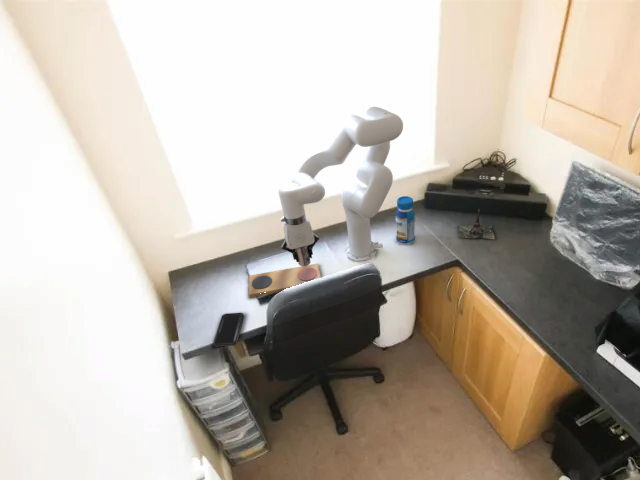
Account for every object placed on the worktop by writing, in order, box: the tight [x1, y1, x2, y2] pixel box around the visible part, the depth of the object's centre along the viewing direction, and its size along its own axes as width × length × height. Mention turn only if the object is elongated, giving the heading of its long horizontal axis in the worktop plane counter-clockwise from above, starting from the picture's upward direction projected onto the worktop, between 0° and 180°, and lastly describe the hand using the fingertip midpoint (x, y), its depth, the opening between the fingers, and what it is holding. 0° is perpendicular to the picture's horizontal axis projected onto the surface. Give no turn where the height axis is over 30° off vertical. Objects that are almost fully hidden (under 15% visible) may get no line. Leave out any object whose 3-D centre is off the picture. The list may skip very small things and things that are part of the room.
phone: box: [212, 312, 245, 348], centre depth 146 cm, size 8×1×15 cm
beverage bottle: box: [395, 195, 416, 245], centre depth 178 cm, size 8×8×20 cm
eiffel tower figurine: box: [458, 208, 496, 240], centre depth 181 cm, size 15×10×13 cm
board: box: [248, 263, 322, 298], centre depth 165 cm, size 28×12×2 cm, turn 103°
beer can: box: [296, 245, 311, 267], centre depth 159 cm, size 5×5×12 cm
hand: (303, 257), depth 161 cm, fingers closed on beer can, 4 cm apart
